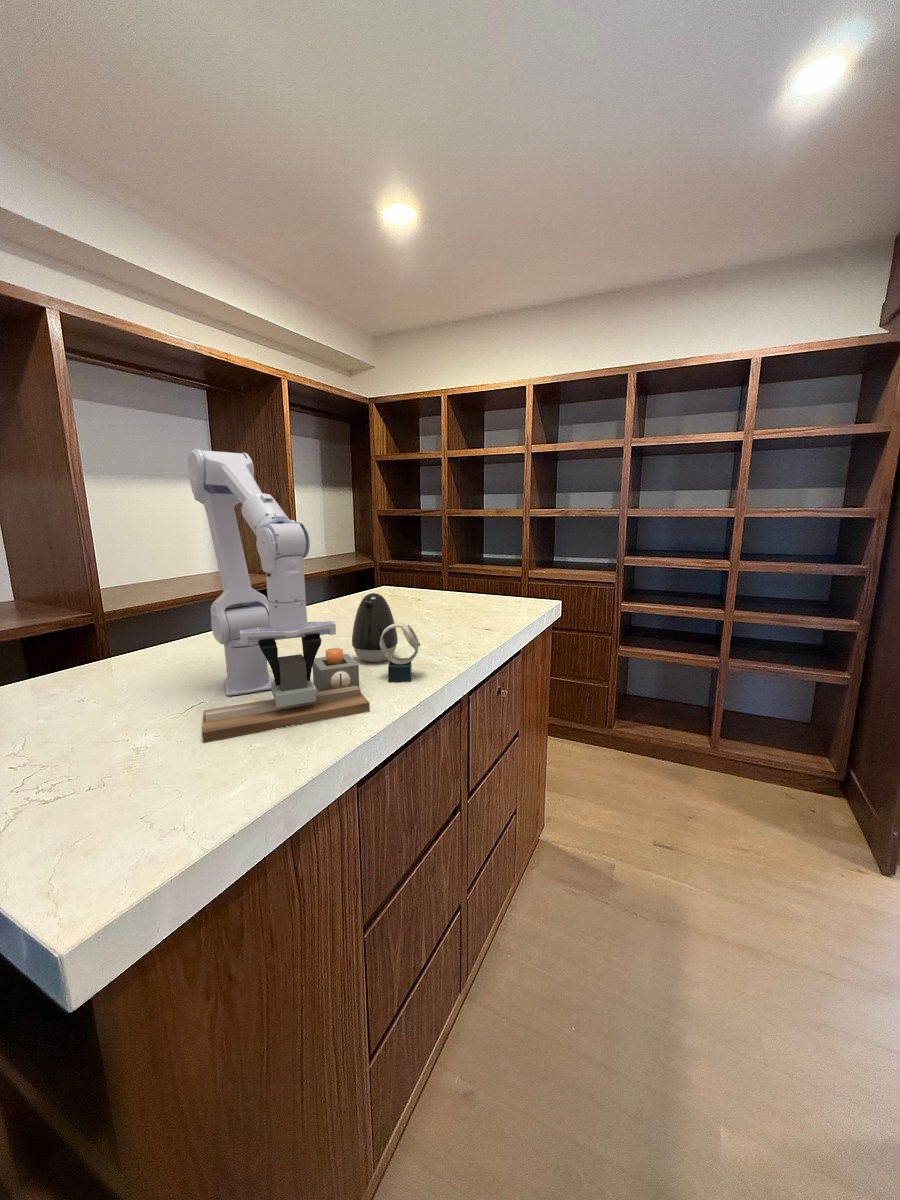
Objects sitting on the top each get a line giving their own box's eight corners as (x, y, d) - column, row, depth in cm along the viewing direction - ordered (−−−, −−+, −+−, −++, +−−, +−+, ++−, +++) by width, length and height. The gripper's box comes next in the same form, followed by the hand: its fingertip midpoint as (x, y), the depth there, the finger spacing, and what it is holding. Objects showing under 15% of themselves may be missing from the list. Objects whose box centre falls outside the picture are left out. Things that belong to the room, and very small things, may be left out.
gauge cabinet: (313, 683, 94) (312, 658, 93) (348, 677, 97) (347, 653, 96) (322, 697, 87) (320, 671, 86) (360, 691, 90) (359, 665, 89)
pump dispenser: (345, 665, 105) (342, 596, 102) (361, 651, 115) (359, 588, 112) (390, 667, 103) (388, 597, 100) (403, 653, 113) (401, 589, 110)
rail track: (204, 719, 78) (202, 703, 77) (355, 693, 89) (355, 679, 88) (203, 742, 70) (201, 725, 69) (369, 711, 81) (369, 695, 80)
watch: (420, 681, 95) (419, 627, 93) (379, 682, 94) (377, 628, 92) (421, 672, 100) (420, 620, 98) (382, 673, 100) (380, 621, 98)
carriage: (271, 692, 81) (269, 655, 80) (308, 687, 84) (306, 651, 82) (276, 707, 75) (273, 667, 74) (316, 701, 77) (313, 662, 76)
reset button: (324, 661, 92) (323, 649, 91) (341, 659, 93) (340, 647, 93) (328, 666, 89) (327, 653, 89) (345, 663, 90) (344, 651, 90)
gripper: (238, 608, 70) (246, 697, 72) (338, 599, 76) (342, 681, 78) (236, 600, 76) (243, 682, 78) (329, 593, 82) (332, 669, 84)
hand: (292, 681), depth 79 cm, fingers closed on carriage, 4 cm apart
